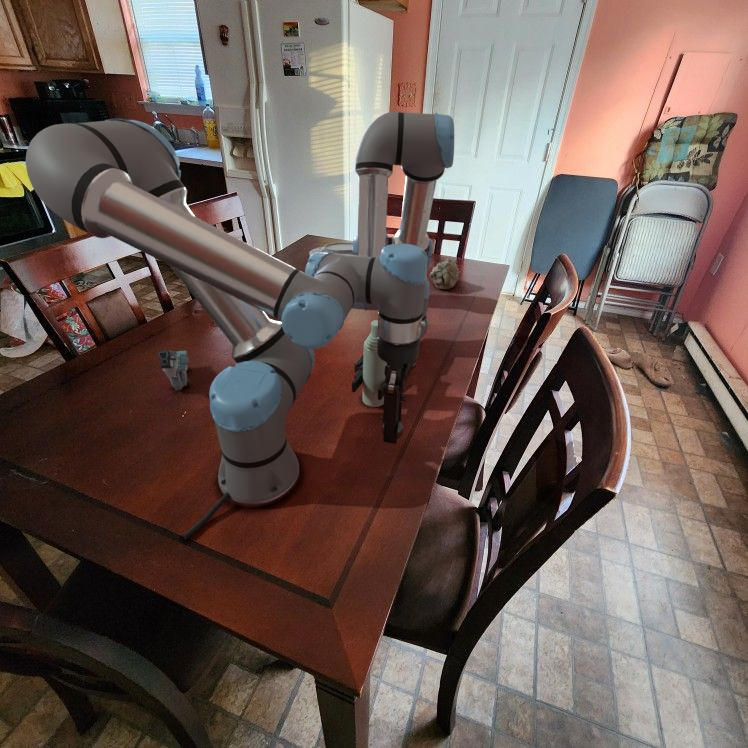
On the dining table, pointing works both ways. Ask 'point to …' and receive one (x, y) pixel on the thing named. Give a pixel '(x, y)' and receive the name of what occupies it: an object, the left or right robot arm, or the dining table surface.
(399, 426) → the cap
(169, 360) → the toy gun
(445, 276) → the lumpy boulder
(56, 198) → the left robot arm
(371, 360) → the bottle
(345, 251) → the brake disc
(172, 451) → the dining table surface
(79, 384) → the dining table surface
